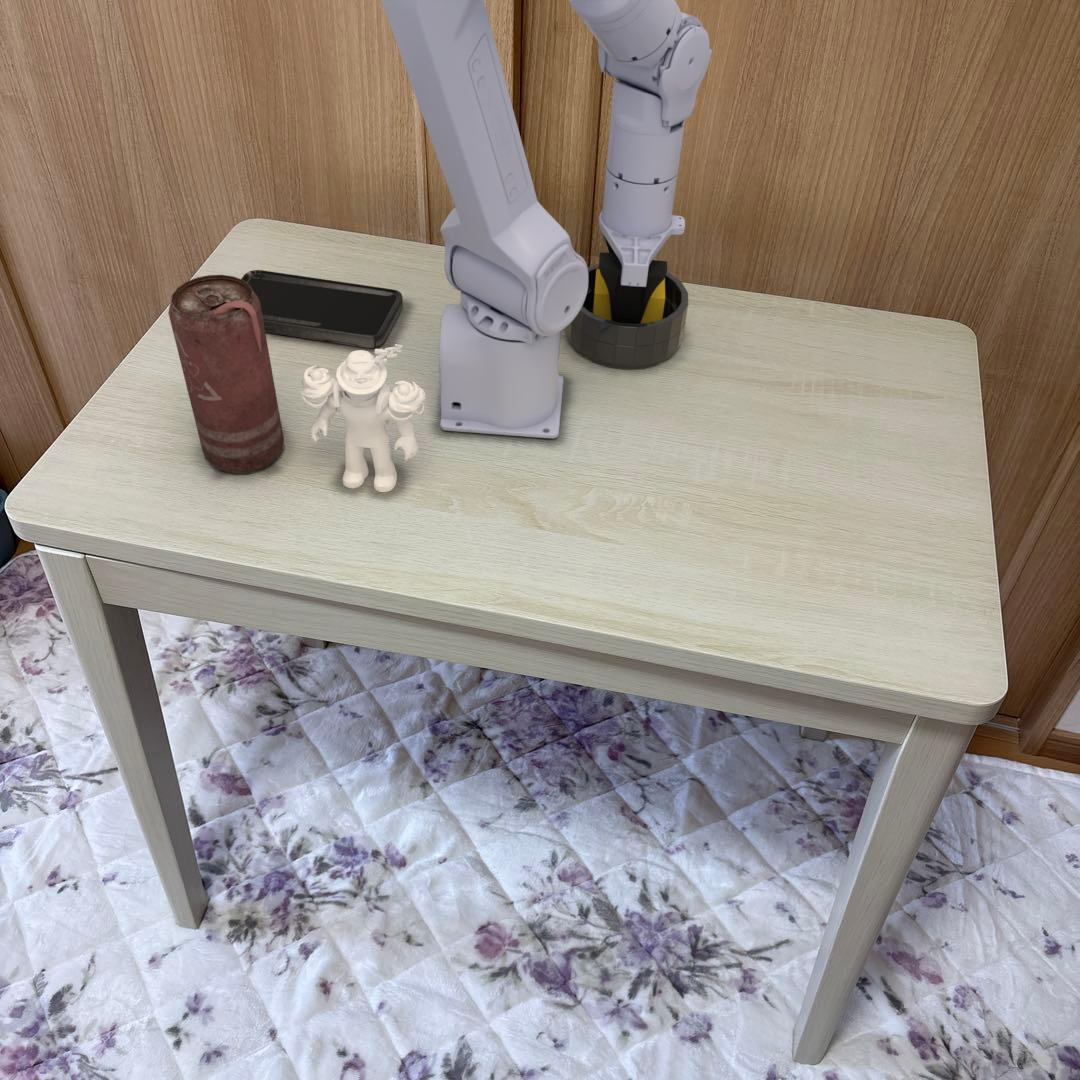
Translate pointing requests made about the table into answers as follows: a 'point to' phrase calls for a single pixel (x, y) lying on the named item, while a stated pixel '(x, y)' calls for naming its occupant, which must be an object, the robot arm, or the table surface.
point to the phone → (325, 308)
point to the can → (227, 372)
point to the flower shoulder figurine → (365, 413)
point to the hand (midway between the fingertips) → (625, 314)
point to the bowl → (630, 331)
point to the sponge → (603, 301)
